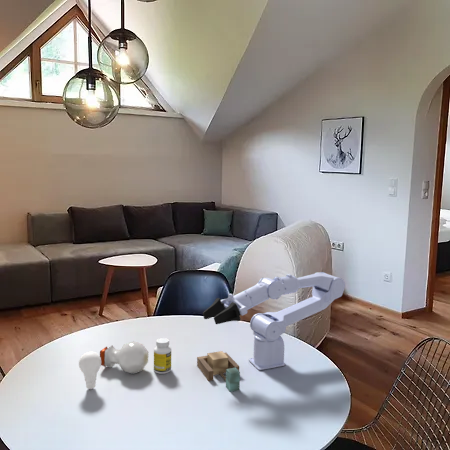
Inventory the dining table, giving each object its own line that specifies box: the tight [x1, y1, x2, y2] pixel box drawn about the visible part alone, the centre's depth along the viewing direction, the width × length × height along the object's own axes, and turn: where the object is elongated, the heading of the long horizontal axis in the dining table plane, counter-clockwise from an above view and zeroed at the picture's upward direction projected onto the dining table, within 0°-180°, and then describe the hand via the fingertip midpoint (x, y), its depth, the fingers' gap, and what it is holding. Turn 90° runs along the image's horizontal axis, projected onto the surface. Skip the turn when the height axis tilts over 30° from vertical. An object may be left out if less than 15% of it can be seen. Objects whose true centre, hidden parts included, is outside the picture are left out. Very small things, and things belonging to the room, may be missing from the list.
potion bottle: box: [99, 340, 149, 375], centre depth 141 cm, size 9×10×15 cm
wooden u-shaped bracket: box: [196, 352, 240, 382], centre depth 142 cm, size 10×10×3 cm
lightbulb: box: [78, 351, 102, 390], centre depth 129 cm, size 6×6×11 cm
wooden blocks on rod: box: [206, 350, 241, 393], centre depth 137 cm, size 5×16×6 cm, turn 22°
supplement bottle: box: [153, 337, 172, 375], centre depth 141 cm, size 5×5×10 cm
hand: (209, 318), depth 135 cm, fingers open, 7 cm apart
